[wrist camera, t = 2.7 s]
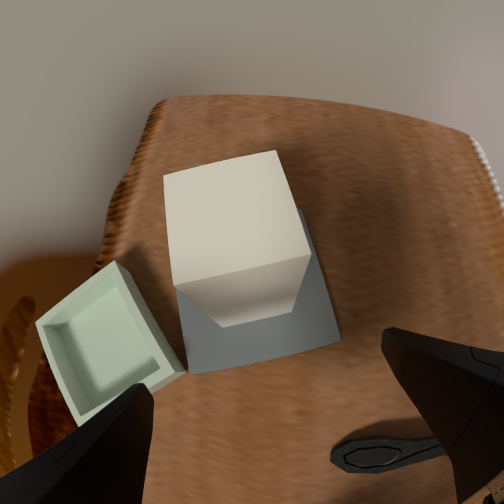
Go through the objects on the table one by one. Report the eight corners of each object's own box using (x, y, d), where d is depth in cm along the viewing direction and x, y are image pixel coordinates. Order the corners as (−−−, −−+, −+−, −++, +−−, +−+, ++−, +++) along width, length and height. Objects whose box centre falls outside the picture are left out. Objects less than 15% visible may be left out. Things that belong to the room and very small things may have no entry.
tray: (186, 371, 22) (175, 372, 19) (98, 424, 20) (79, 428, 17) (129, 272, 25) (114, 260, 23) (54, 328, 24) (35, 322, 21)
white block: (291, 312, 22) (311, 253, 11) (222, 327, 22) (173, 285, 11) (274, 248, 24) (275, 150, 13) (210, 263, 24) (163, 175, 13)
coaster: (338, 341, 22) (341, 340, 21) (193, 374, 22) (190, 374, 21) (299, 213, 27) (300, 208, 26) (173, 242, 26) (169, 237, 25)
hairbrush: (341, 414, 18) (552, 372, 14) (333, 407, 21) (532, 375, 18) (326, 507, 15) (543, 445, 11) (322, 490, 18) (524, 442, 15)
